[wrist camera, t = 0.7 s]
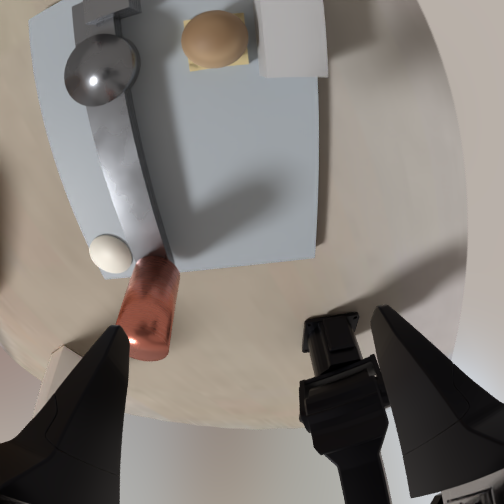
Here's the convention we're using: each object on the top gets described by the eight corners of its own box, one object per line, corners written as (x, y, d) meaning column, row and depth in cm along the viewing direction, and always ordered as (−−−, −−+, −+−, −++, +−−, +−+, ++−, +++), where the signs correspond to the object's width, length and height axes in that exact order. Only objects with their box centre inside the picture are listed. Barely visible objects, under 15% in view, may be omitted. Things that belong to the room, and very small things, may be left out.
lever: (139, -14, 9) (78, -52, 3) (196, 277, 23) (187, 360, 16) (69, 14, 9) (-13, 9, 3) (141, 282, 23) (121, 360, 17)
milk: (95, 364, 36) (73, 496, 18) (79, 371, 38) (58, 489, 20) (63, 344, 32) (31, 482, 15) (50, 353, 34) (22, 475, 17)
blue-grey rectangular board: (311, 249, 24) (326, 291, 20) (107, 270, 24) (90, 311, 20) (301, -44, 10) (323, -72, 6) (36, 21, 10) (-8, 22, 6)
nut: (249, 64, 14) (253, 64, 11) (190, 72, 14) (179, 74, 11) (244, 13, 12) (247, 0, 9) (183, 21, 12) (171, 11, 9)
